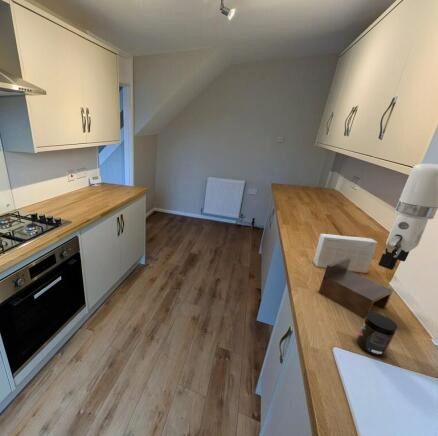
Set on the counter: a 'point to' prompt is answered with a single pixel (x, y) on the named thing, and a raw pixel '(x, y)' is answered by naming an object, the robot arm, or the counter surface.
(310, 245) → the counter surface
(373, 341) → the supplement container
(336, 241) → the skincare box
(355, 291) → the shelf
